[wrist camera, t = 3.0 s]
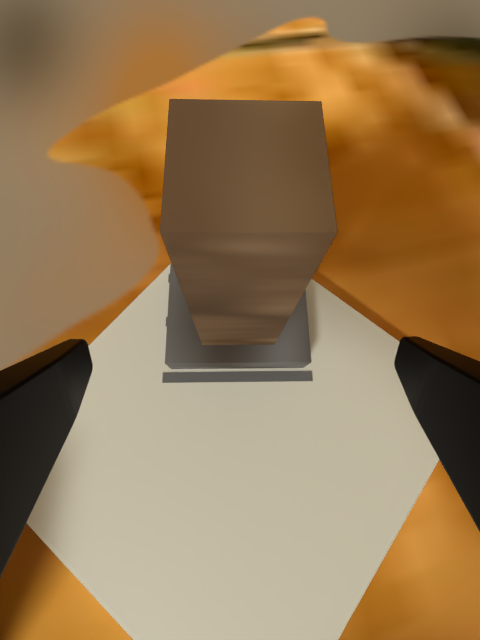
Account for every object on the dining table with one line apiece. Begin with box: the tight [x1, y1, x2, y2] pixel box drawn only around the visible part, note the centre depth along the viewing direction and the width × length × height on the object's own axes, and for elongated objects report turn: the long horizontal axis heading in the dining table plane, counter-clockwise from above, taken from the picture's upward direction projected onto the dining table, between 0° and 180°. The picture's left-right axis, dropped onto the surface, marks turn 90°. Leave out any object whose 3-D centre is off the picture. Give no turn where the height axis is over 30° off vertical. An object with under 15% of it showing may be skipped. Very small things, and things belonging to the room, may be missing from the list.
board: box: [27, 263, 439, 640], centre depth 19 cm, size 20×21×1 cm
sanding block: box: [160, 99, 337, 369], centre depth 14 cm, size 8×6×13 cm
